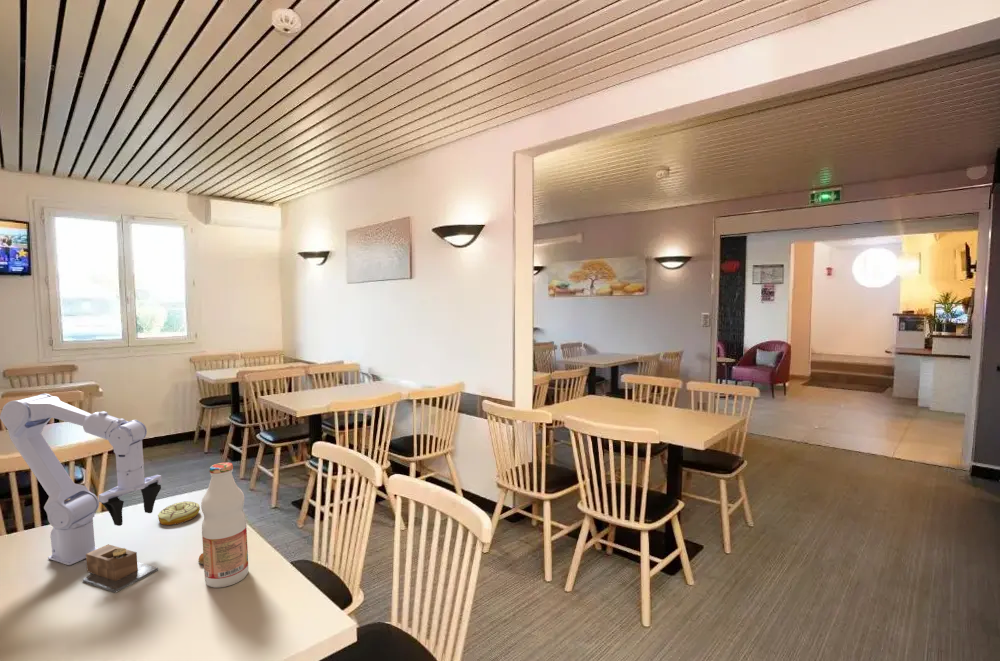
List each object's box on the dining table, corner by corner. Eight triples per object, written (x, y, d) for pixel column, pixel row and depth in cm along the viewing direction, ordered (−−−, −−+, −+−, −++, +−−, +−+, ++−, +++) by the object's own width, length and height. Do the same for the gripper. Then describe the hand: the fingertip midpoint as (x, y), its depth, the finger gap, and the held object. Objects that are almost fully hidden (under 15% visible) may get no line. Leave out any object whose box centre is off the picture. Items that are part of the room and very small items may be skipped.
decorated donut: (151, 521, 152) (151, 509, 152) (189, 508, 161) (188, 496, 161) (168, 529, 147) (167, 517, 146) (206, 515, 156) (205, 504, 155)
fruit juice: (195, 585, 118) (188, 470, 116) (226, 564, 127) (220, 457, 125) (228, 591, 116) (222, 474, 114) (257, 569, 125) (252, 460, 123)
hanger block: (87, 571, 123) (85, 553, 123) (109, 561, 128) (108, 544, 128) (116, 581, 119) (114, 562, 119) (137, 570, 124) (136, 552, 124)
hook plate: (82, 581, 120) (80, 556, 120) (126, 560, 129) (125, 537, 129) (114, 592, 116) (112, 566, 115) (158, 570, 125) (156, 545, 125)
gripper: (109, 480, 123) (113, 533, 124) (168, 461, 136) (171, 509, 137) (91, 476, 125) (95, 528, 126) (150, 458, 139) (153, 505, 140)
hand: (133, 518), depth 132 cm, fingers open, 7 cm apart
